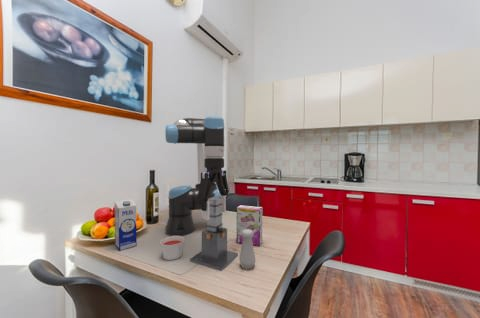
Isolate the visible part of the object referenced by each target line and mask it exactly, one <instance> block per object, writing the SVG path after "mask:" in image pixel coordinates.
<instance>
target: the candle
mask: <svg viewBox="0 0 480 318" xmlns="http://www.w3.org/2000/svg"><path fill="white" fill-rule="evenodd" d="M159 243H160V247H161V253H162V257H163V259H164V260H167V261H174V260H177V259H179V258H180V257H182V254H183V249H184V244H185V237H184V236H183V235H180V236H172V235H169V236H166V237H164V238H162V239H161V240H160V242H159Z"/></svg>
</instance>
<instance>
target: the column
mask: <svg viewBox="0 0 480 318" xmlns="http://www.w3.org/2000/svg"><path fill="white" fill-rule="evenodd" d="M208 201H209V220H206V221H207V222H206V229H207V232H211V233H216V234H217V233H218V232H219V229H220V228H221V227H222V228H223V222H222V221H223V220H222V219H223V212H222V198H217V197H212V198H209V199H208Z"/></svg>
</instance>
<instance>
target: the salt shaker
mask: <svg viewBox="0 0 480 318" xmlns="http://www.w3.org/2000/svg"><path fill="white" fill-rule="evenodd" d="M241 234H242V237H243V241H242V243H241V248H240V254H239V263H240V265H241V267H242V269H245V270H251V269H253V268H254V266H255V263H256V253H255V249H254V245H253V243H252V237H253V231H252V230H250V229H245V230H243V231H242V233H241Z"/></svg>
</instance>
